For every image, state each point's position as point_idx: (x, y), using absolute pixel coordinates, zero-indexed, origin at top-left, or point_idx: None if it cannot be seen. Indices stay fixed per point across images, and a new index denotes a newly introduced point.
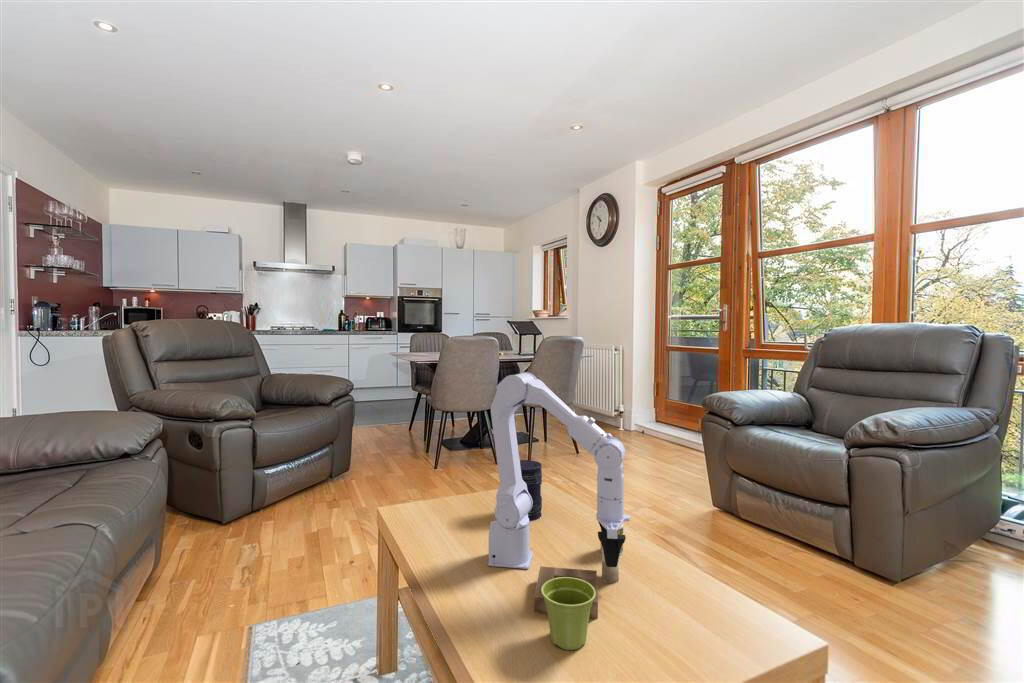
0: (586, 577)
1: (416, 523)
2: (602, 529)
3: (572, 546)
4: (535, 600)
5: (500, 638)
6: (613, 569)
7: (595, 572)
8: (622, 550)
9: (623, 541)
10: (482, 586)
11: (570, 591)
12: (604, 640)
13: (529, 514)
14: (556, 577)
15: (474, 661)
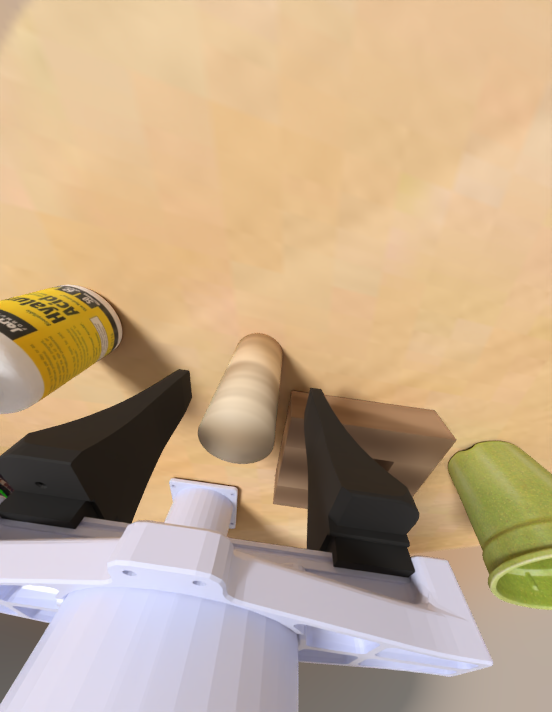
0: None
1: None
2: (149, 471)
3: None
4: None
5: (438, 523)
6: (280, 373)
7: (301, 420)
8: (81, 291)
9: (409, 494)
10: (297, 530)
11: (494, 533)
12: (517, 411)
13: (1, 484)
14: None
15: (476, 541)
